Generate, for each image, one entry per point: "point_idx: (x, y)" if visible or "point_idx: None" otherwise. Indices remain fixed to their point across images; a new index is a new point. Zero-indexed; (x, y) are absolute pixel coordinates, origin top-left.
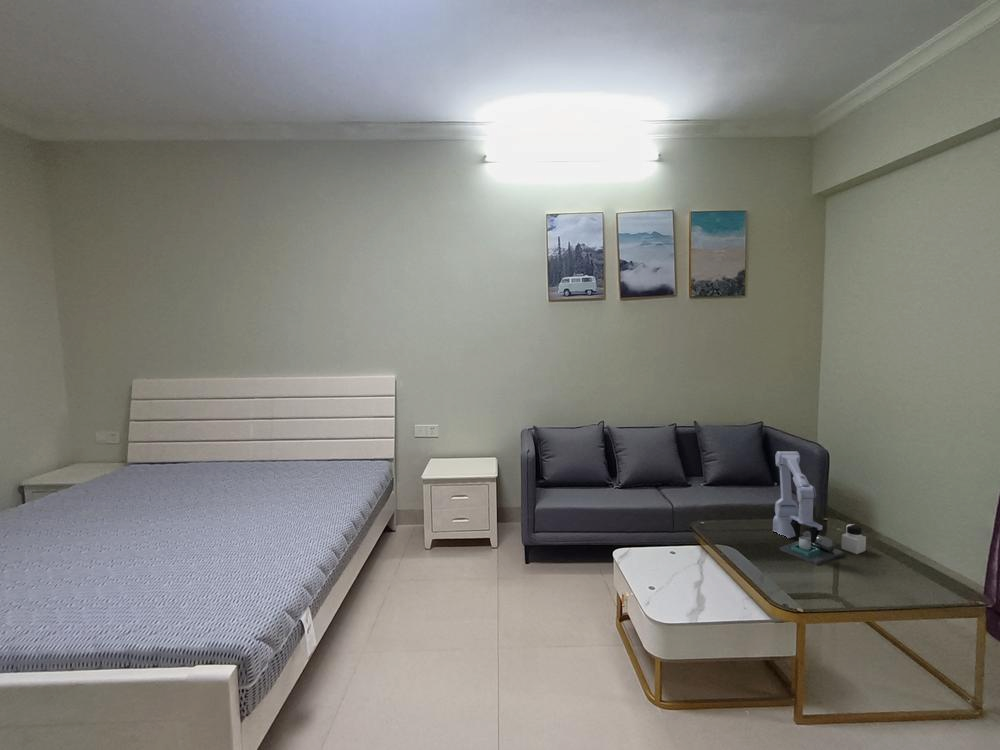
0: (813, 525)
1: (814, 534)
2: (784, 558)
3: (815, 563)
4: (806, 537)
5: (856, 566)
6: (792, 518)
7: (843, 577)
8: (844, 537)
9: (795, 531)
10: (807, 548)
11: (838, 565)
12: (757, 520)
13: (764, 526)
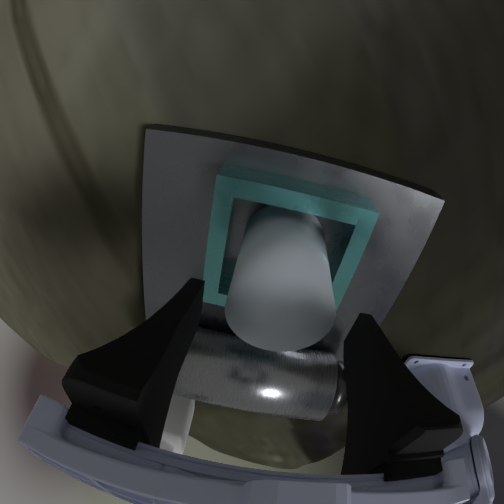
0: (86, 462)
1: (119, 343)
2: (368, 66)
3: (160, 126)
4: (279, 341)
5: (63, 267)
6: (442, 490)
7: (22, 107)
8: (169, 426)
9: (383, 353)
10: (248, 237)
11: (95, 222)
12: (501, 392)
13: (489, 377)
